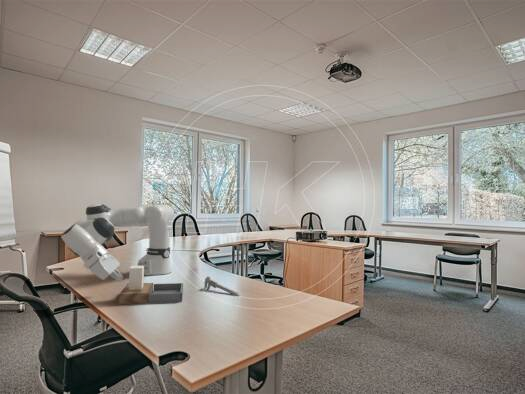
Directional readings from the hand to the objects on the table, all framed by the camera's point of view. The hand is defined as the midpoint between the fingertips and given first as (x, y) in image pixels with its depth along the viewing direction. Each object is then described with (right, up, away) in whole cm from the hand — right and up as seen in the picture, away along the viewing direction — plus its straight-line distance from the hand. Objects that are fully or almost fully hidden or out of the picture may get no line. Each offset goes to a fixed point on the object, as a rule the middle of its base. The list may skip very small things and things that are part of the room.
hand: (121, 279), depth 134 cm
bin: (+18, -8, +4) cm, 20 cm away
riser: (+6, -8, +1) cm, 10 cm away
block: (+6, -4, +1) cm, 7 cm away
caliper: (+41, -10, +13) cm, 44 cm away
